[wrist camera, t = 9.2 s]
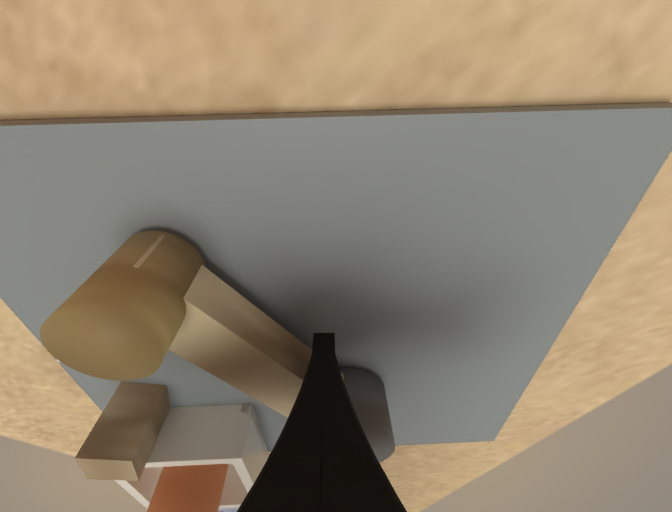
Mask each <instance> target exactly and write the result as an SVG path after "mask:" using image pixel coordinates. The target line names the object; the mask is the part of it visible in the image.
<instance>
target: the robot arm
mask: <svg viewBox="0 0 672 512" xmlns="http://www.w3.org/2000/svg"><path fill="white" fill-rule="evenodd" d="M218 512H407V511H406V510H405V508H404V506H403V505H402V503H401V501H400V499H399V498H398V496H397V494H396V492H395V491H394V489H393V487H392V485H391V483H390V482H389V480H388V478H387V476H386V474H385V472H384V471H383V469H382V467H381V465H380V463H379V461H378V460H377V458H376V456H375V454H374V452H373V450H372V448H371V446H370V444H369V441H368V439H367V437H366V435H365V433H364V431H363V429H362V427H361V424H360V422H359V420H358V417H357V415H356V413H355V410H354V408H353V405H352V403H351V400H350V398H349V395H348V393H347V390H346V387H345V384H344V381H343V378H342V375H341V372H340V369H339V365H338V362H337V358H336V354H335V333H313V344H312V355H311V358H310V362H309V365H308V368H307V371H306V374H305V377H304V380H303V382H302V385H301V388H300V391H299V393H298V396H297V398H296V400H295V403H294V405H293V407H292V410H291V412H290V415H289V417H288V419H287V421H286V423H285V425H284V428H283V430H282V432H281V434H280V436H279V438H278V440H277V442H276V444H275V446H274V448H273V450H272V451H271V453H270V455H269V457H268V459H267V461H266V463H265V464H264V466H263V468H262V470H261V472H260V474H259V475H258V477H257V479H256V481H255V482H254V484H253V486H252V487H251V489H250V491H249V492H248V494H247V495H246V497H245V499H244V500H243V502H242V504H241V505H240V507H239V508H221V509H218Z"/></svg>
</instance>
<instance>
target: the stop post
mask: <svg viewBox="0 0 672 512" xmlns="http://www.w3.org/2000/svg"><path fill="white" fill-rule="evenodd" d="M169 409H170V403H169V396H168V390H167V385H158V384H147V383H136V382H125V381H121V383H120V384H119V386H118V388H117V389H116V391H115V393H114V394H113V396H112V398H111V399H110V401H109V402H108V404H107V406H106V407H105V409H104V411H103V412H102V414H101V416H100V417H99V419H98V421H97V422H96V424H95V426H94V427H93V429H92V431H91V432H90V434H89V436H88V437H87V439H86V441H85V442H84V444H83V446H82V447H81V449H80V450H79V452H78V454H77V455H76V457H75V459H76V461H77V463H78V464H79V466H80V467H81V469H82V471H83V473H84V474H85V476H86V478H87V479H103V480H127V481H139V480H140V477H141V475H142V472H143V470H144V468H145V465H146V463H147V461H148V458H149V456H150V454H151V451H152V449H153V447H154V444H155V442H156V439H157V437H158V435H159V432H160V430H161V428H162V425H163V423H164V421H165V418H166V416H167V414H168V411H169Z"/></svg>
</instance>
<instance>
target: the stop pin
mask: <svg viewBox="0 0 672 512" xmlns="http://www.w3.org/2000/svg"><path fill="white" fill-rule="evenodd" d="M228 465H229V464H209V465H189V466H169V467H163V469H162V472H161V474H160V477H159V480H158V482H157V485H156V488H155V490H154V493H153V496H152V498H151V501H150V504H149V506H148V509H147V512H218V509H219V505H220V500H221V496H222V491H223V487H224V482H225V478H226V474H227V469H228Z"/></svg>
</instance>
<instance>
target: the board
mask: <svg viewBox="0 0 672 512" xmlns="http://www.w3.org/2000/svg"><path fill="white" fill-rule="evenodd" d="M671 150H672V103H670V102H668V103H631V104H594V105H556V106H519V107H482V108H445V109H408V110H370V111H333V112H296V113H259V114H222V115H184V116H147V117H110V118H73V119H36V120H0V298H1V299H2V300H3V301H4V302H5V303H6V304H7V306H8V307H9V308H10V309H11V310H12V311H13V312H14V313H15V314H16V316H17V317H18V318H19V319H20V320H21V321H22V322H23V323H24V324H25V326H26V327H27V328H28V329H29V330H30V331H31V332H32V333H33V335H34V336H35V337H36V338H37V339H38V340H39V341H40V342H41V343H42V341H41V338H40V328H41V326H42V324H43V323H44V321H45V320H46V319H47V318H48V317H49V316H50V315H51V314H52V313H53V312H54V311H55V310H56V309H57V308H58V307H59V306H60V305H61V304H63V303H64V302H65V301H66V300H67V299H68V298H69V297H70V296H71V295H72V294H73V293H74V292H75V291H76V290H77V289H78V288H79V287H80V286H81V285H82V284H83V283H84V282H85V281H86V280H87V279H88V278H89V277H90V276H91V275H92V274H93V273H94V272H95V271H96V270H97V269H98V268H99V267H100V266H101V265H102V264H103V263H104V262H105V261H106V260H107V259H108V258H109V257H110V256H111V255H112V254H113V253H114V252H115V251H116V250H117V249H118V248H119V247H121V246H122V245H123V244H124V243H125V242H126V241H127V240H128V239H129V238H130V237H131V236H133V235H134V234H136V233H139V232H143V231H151V230H153V231H163V232H167V233H171V234H173V235H176V236H178V237H180V238H182V239H184V240H186V241H187V242H188V243H190V244H191V245H192V246H193V247H194V248H195V249H196V250H197V251H198V252H199V253H200V255H201V256H202V258H203V260H204V262H205V266H206V268H207V269H208V270H210V271H211V272H212V273H213V274H215V275H216V276H217V277H219V278H220V279H221V280H222V281H224V282H225V283H226V284H228V285H229V286H230V287H231V288H233V289H234V290H235V291H237V292H238V293H239V294H240V295H242V296H243V297H244V298H246V299H247V300H248V301H249V302H251V303H252V304H253V305H255V306H256V307H257V308H258V309H260V310H261V311H262V312H264V313H265V314H266V315H267V316H269V317H270V318H271V319H273V320H274V321H275V322H276V323H278V324H279V325H280V326H282V327H283V328H284V329H286V330H287V331H288V332H289V333H291V334H292V335H293V336H295V337H296V338H297V339H298V340H300V341H301V342H302V343H304V344H305V345H306V346H307V347H309V348H310V349H311V350H312V344H313V333H335V354H336V358H337V362H338V365H339V369H342V368H353V369H360V370H365V371H368V372H370V373H373V374H374V375H376V376H377V377H379V378H380V379H381V380H382V382H383V384H384V387H385V392H386V398H387V403H388V409H389V414H390V420H391V425H392V431H393V436H394V442H395V446H396V445H416V444H437V443H457V442H478V441H494V440H495V438H496V436H497V435H498V433H499V431H500V430H501V428H502V427H503V425H504V423H505V422H506V420H507V418H508V417H509V415H510V413H511V412H512V410H513V409H514V407H515V405H516V404H517V402H518V400H519V399H520V397H521V395H522V394H523V392H524V391H525V389H526V387H527V386H528V384H529V382H530V381H531V379H532V377H533V376H534V374H535V373H536V371H537V369H538V368H539V366H540V364H541V363H542V361H543V360H544V358H545V356H546V355H547V353H548V351H549V350H550V348H551V346H552V345H553V343H554V342H555V340H556V338H557V337H558V335H559V333H560V332H561V330H562V328H563V327H564V325H565V324H566V322H567V320H568V319H569V317H570V315H571V314H572V312H573V310H574V309H575V307H576V306H577V304H578V302H579V301H580V299H581V297H582V296H583V294H584V292H585V291H586V289H587V288H588V286H589V284H590V283H591V281H592V279H593V278H594V276H595V274H596V273H597V271H598V270H599V268H600V266H601V265H602V263H603V261H604V260H605V258H606V256H607V255H608V253H609V252H610V250H611V248H612V247H613V245H614V243H615V242H616V240H617V238H618V237H619V235H620V234H621V232H622V230H623V229H624V227H625V225H626V224H627V222H628V220H629V219H630V217H631V216H632V214H633V212H634V211H635V209H636V207H637V206H638V204H639V202H640V201H641V199H642V198H643V196H644V194H645V193H646V191H647V189H648V188H649V186H650V185H651V183H652V181H653V180H654V178H655V176H656V175H657V173H658V171H659V170H660V168H661V167H662V165H663V163H664V162H665V160H666V158H667V157H668V155H669V153H670V152H671ZM42 345H43V343H42ZM43 346H44V345H43ZM53 357H54V356H53ZM54 358H55V357H54ZM55 359H56V358H55ZM56 360H57V359H56ZM57 362H59V364H60V365H61V366H62V367H63V368H64V369H65V370H66V371H67V372H68V374H69V375H70V376H71V377H72V378H73V379H74V380H75V381H76V383H77V384H78V385H79V386H80V387H81V388H82V389H83V390H84V391H85V393H86V394H87V395H88V396H89V397H90V398H91V399H92V400H93V402H94V403H95V404H96V405H97V406H98V407H99V408H100V409H101V410H102V412H103V411H104V409H105V407H106V406H107V404H108V402H109V401H110V399H111V398H112V396H113V394H114V393H115V391H116V389H117V388H118V386H119V384H120V383H121V381H114V380H106V379H101V378H96V377H93V376H89V375H86V374H83V373H81V372H78V371H76V370H74V369H72V368H70V367H68V366H66V365H65V364H63V363H61V362H60V361H59V360H57ZM125 382H136V383H147V384H158V385H167V390H168V396H169V403H170V408H172V407H194V406H216V405H238V404H252V405H253V408H254V411H255V414H256V417H257V420H258V423H259V426H260V429H261V432H262V435H263V438H264V441H265V444H266V447H267V450H268V452H271V451H272V450H273V448H274V446H275V444H276V442H277V440H278V438H279V436H280V434H281V432H282V430H283V428H284V425H285V423H286V421H287V419H288V418H287V417H285V416H284V415H282V414H280V413H278V412H277V411H275V410H273V409H271V408H270V407H268V406H266V405H264V404H263V403H261V402H259V401H257V400H256V399H254V398H252V397H250V396H249V395H247V394H245V393H243V392H242V391H240V390H238V389H236V388H235V387H233V386H231V385H229V384H228V383H226V382H224V381H222V380H221V379H219V378H217V377H215V376H214V375H212V374H210V373H209V372H207V371H205V370H203V369H202V368H200V367H198V366H196V365H195V364H193V363H191V362H189V361H188V360H186V359H184V358H182V357H181V356H179V355H177V354H175V353H174V352H172V351H170V350H168V352H167V354H166V356H165V357H164V359H163V361H162V363H161V365H160V367H159V369H158V370H157V371H156V372H154V373H153V374H152V375H150V376H148V377H145V378H142V379H138V380H131V381H125Z"/></svg>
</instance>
